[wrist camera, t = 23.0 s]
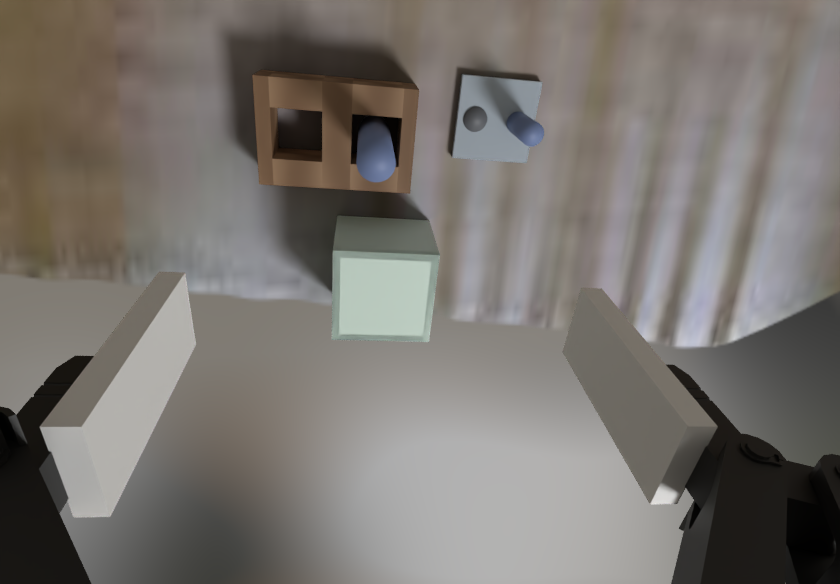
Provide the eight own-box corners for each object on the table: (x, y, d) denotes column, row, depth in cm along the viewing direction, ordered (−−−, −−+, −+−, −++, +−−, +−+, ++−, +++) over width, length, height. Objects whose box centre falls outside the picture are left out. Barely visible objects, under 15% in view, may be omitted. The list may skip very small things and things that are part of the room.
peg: (374, 107, 41) (376, 134, 32) (395, 131, 42) (403, 164, 33) (351, 130, 41) (348, 162, 33) (373, 153, 43) (375, 190, 34)
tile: (451, 155, 43) (461, 172, 39) (461, 73, 40) (473, 82, 36) (524, 161, 44) (541, 178, 40) (540, 81, 41) (561, 90, 37)
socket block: (266, 171, 42) (259, 184, 39) (261, 69, 39) (252, 75, 36) (406, 180, 44) (409, 193, 41) (415, 83, 40) (419, 89, 37)
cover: (336, 295, 49) (331, 339, 43) (337, 215, 45) (332, 250, 38) (420, 298, 50) (428, 341, 44) (429, 220, 46) (439, 255, 40)
